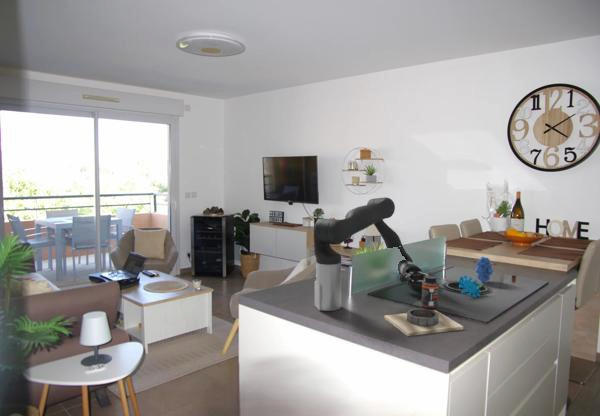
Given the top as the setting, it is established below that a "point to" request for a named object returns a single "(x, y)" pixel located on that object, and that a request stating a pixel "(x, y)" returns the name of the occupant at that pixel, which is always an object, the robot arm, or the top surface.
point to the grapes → (484, 269)
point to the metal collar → (414, 319)
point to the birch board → (411, 329)
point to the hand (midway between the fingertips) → (421, 282)
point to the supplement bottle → (430, 292)
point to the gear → (469, 286)
